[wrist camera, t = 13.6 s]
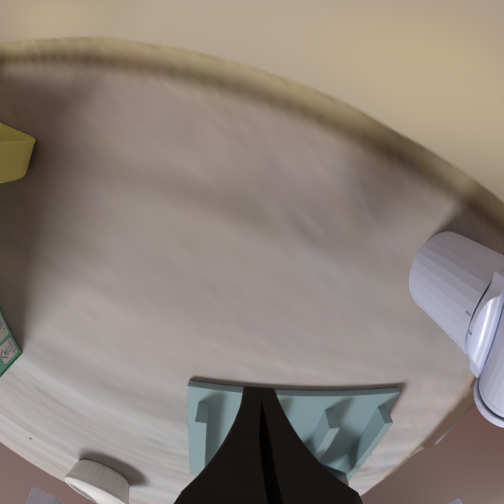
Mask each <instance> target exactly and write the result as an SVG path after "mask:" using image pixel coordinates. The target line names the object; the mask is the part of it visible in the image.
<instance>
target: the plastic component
mask: <svg viewBox="0 0 504 504" xmlns="http://www.w3.org/2000/svg"><path fill="white" fill-rule="evenodd" d="M34 144H35V138H33V137H32V136H30V135H28V134H25V133H23V132H21V131H19V130H16V129H14V128H12V127H9V126H7V125H5V124H3V123H0V183H5V182H9V181H14V180H18V179H20V178H22V177H23V176H24V175H25V174H26V172H27V169H28V165H29V161H30V157H31V154H32V150H33V147H34Z"/></svg>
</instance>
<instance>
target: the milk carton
mask: <svg viewBox="0 0 504 504" xmlns="http://www.w3.org/2000/svg"><path fill="white" fill-rule="evenodd" d="M21 354H22V353H21V351H20V349H19V347H18V345H17V343H16V341H15V340H14V338H13V336H12V334H11V332H10V330H9V327H8V325H7V323H6V321H5V319H4V317H3V314H2V312H1V310H0V377H1V376H2V375H3V374H4V373H5V372H6V370H7V369H8V368H9V367H10V366H11V365H12V364H13V363H14V362H15V361H16V360H17V358H18V357H19V356H20V355H21Z"/></svg>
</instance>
